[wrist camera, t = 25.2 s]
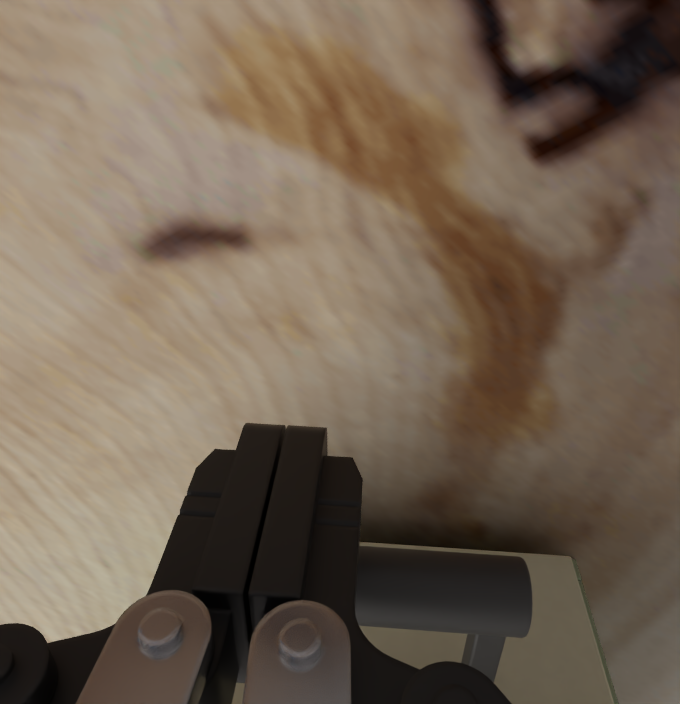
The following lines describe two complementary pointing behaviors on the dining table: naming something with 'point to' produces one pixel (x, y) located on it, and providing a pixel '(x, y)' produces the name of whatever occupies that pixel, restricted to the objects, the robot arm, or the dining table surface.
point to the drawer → (482, 618)
